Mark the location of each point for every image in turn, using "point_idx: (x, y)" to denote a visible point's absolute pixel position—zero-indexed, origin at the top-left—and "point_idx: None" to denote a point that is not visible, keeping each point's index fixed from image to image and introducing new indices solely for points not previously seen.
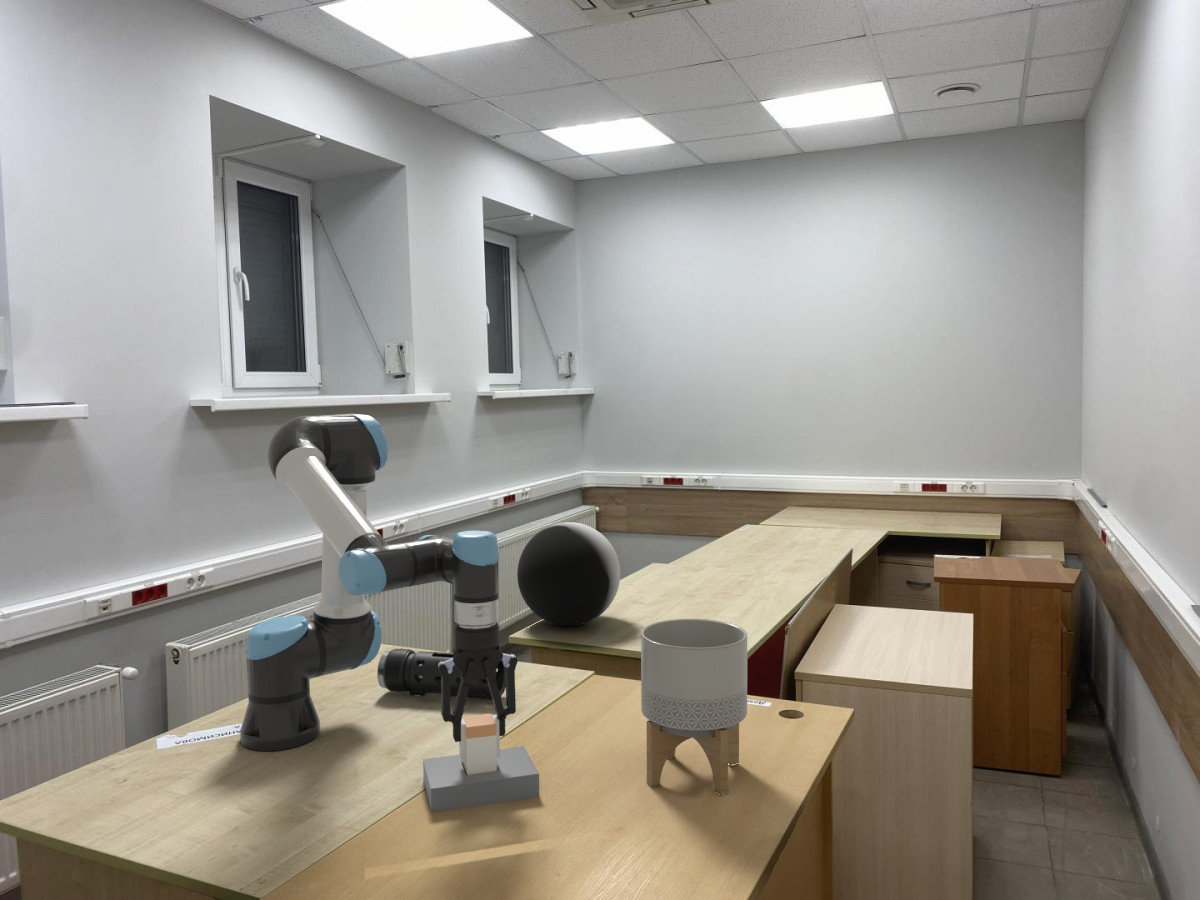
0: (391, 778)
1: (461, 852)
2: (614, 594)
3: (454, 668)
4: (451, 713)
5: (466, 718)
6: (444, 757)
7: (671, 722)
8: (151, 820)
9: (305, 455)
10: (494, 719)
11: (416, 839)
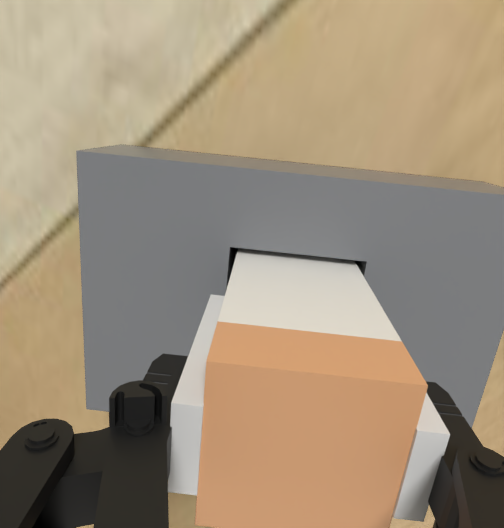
0: (10, 13)
1: (168, 511)
2: None
3: None
4: (83, 498)
5: (228, 402)
6: (170, 171)
7: None
8: None
9: None
10: (399, 503)
11: (77, 429)
